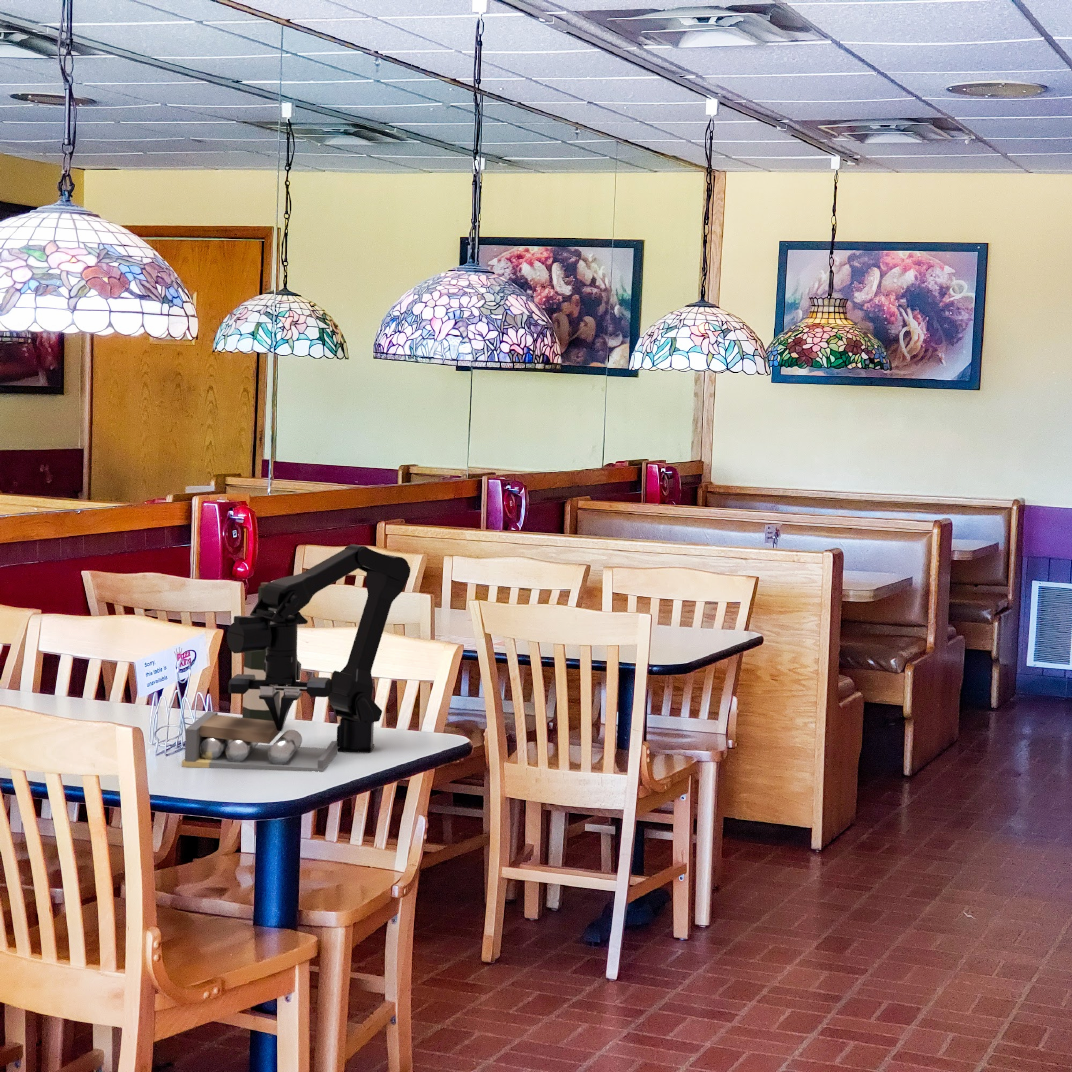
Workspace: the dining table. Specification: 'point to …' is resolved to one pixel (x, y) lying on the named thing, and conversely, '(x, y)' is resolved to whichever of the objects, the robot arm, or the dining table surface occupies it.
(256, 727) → the slab
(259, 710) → the wine bottle
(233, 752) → the roller
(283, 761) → the roller
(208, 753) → the roller
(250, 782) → the dining table surface
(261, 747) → the track board
